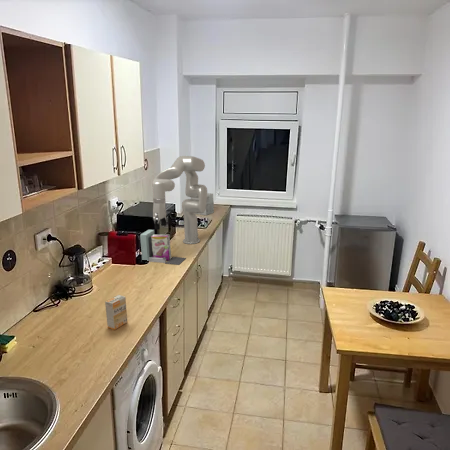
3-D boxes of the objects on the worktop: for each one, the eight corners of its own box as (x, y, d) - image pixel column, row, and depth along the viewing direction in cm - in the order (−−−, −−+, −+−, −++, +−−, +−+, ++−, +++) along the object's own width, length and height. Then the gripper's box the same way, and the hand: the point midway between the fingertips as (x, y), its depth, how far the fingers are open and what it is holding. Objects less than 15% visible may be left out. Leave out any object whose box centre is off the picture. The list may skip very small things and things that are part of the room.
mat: (172, 257, 271) (172, 256, 271) (186, 258, 269) (186, 257, 269) (165, 263, 260) (165, 263, 260) (179, 265, 258) (179, 264, 258)
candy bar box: (153, 261, 265) (150, 236, 261) (155, 258, 270) (152, 234, 266) (170, 260, 264) (167, 236, 260) (171, 258, 269) (169, 233, 264)
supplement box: (114, 330, 183) (112, 303, 179) (107, 327, 185) (104, 301, 182) (128, 322, 189) (125, 296, 186) (120, 319, 192) (118, 294, 188)
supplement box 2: (214, 212, 386) (213, 193, 381) (206, 215, 375) (205, 196, 370) (199, 210, 394) (198, 191, 389) (190, 213, 384) (190, 194, 379)
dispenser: (150, 255, 276) (148, 229, 271) (171, 257, 271) (170, 231, 267) (142, 261, 265) (140, 234, 260) (164, 263, 260) (162, 236, 255)
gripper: (159, 198, 266) (160, 223, 270) (147, 203, 250) (149, 230, 254) (170, 198, 264) (171, 224, 268) (158, 203, 248) (160, 231, 252)
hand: (160, 227), depth 261 cm, fingers open, 9 cm apart
